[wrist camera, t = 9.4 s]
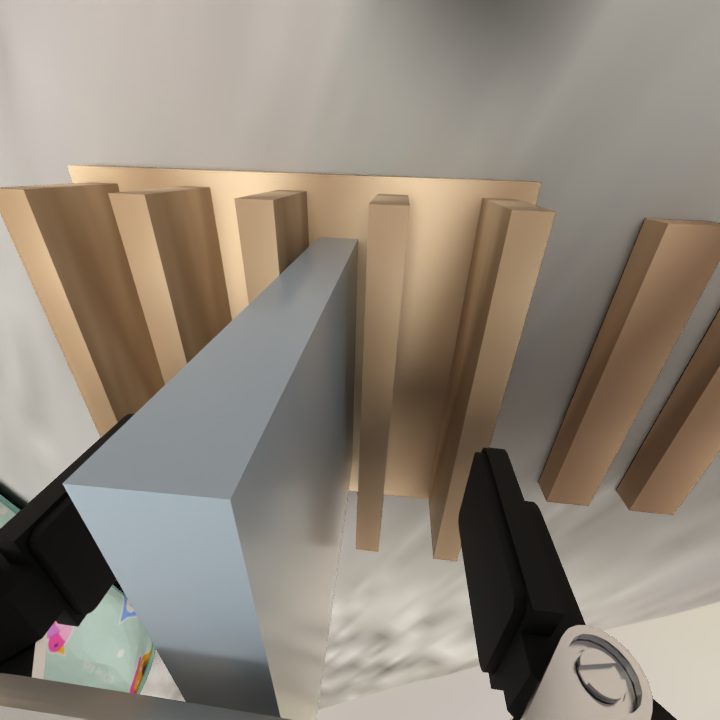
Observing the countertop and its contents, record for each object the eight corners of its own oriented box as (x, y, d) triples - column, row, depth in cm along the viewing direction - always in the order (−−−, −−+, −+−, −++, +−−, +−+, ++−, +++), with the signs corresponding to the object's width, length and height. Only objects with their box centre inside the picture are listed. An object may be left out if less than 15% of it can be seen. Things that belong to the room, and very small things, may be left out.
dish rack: (531, 181, 12) (595, 189, 8) (457, 487, 19) (471, 569, 15) (89, 165, 13) (-45, 165, 9) (180, 458, 20) (127, 527, 16)
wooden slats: (835, 226, 11) (878, 232, 10) (657, 494, 18) (673, 515, 17) (645, 218, 12) (668, 223, 11) (538, 482, 18) (546, 501, 17)
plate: (358, 239, 12) (230, 499, 3) (352, 463, 18) (302, 813, 8) (319, 237, 12) (62, 483, 3) (325, 461, 18) (245, 805, 8)
